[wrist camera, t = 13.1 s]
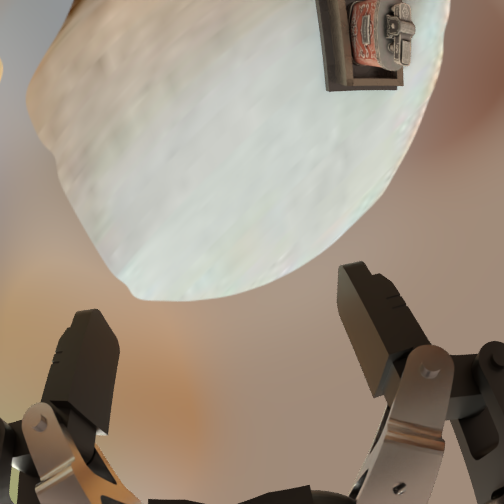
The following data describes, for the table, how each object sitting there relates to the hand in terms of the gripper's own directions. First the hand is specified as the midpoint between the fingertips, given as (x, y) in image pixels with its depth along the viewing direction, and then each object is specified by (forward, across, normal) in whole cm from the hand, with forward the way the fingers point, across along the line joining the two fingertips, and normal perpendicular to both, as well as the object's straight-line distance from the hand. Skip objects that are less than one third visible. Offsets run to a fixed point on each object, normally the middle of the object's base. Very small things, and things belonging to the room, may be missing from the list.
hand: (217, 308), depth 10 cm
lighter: (+27, -18, -9) cm, 34 cm away
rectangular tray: (+28, -18, -9) cm, 35 cm away
